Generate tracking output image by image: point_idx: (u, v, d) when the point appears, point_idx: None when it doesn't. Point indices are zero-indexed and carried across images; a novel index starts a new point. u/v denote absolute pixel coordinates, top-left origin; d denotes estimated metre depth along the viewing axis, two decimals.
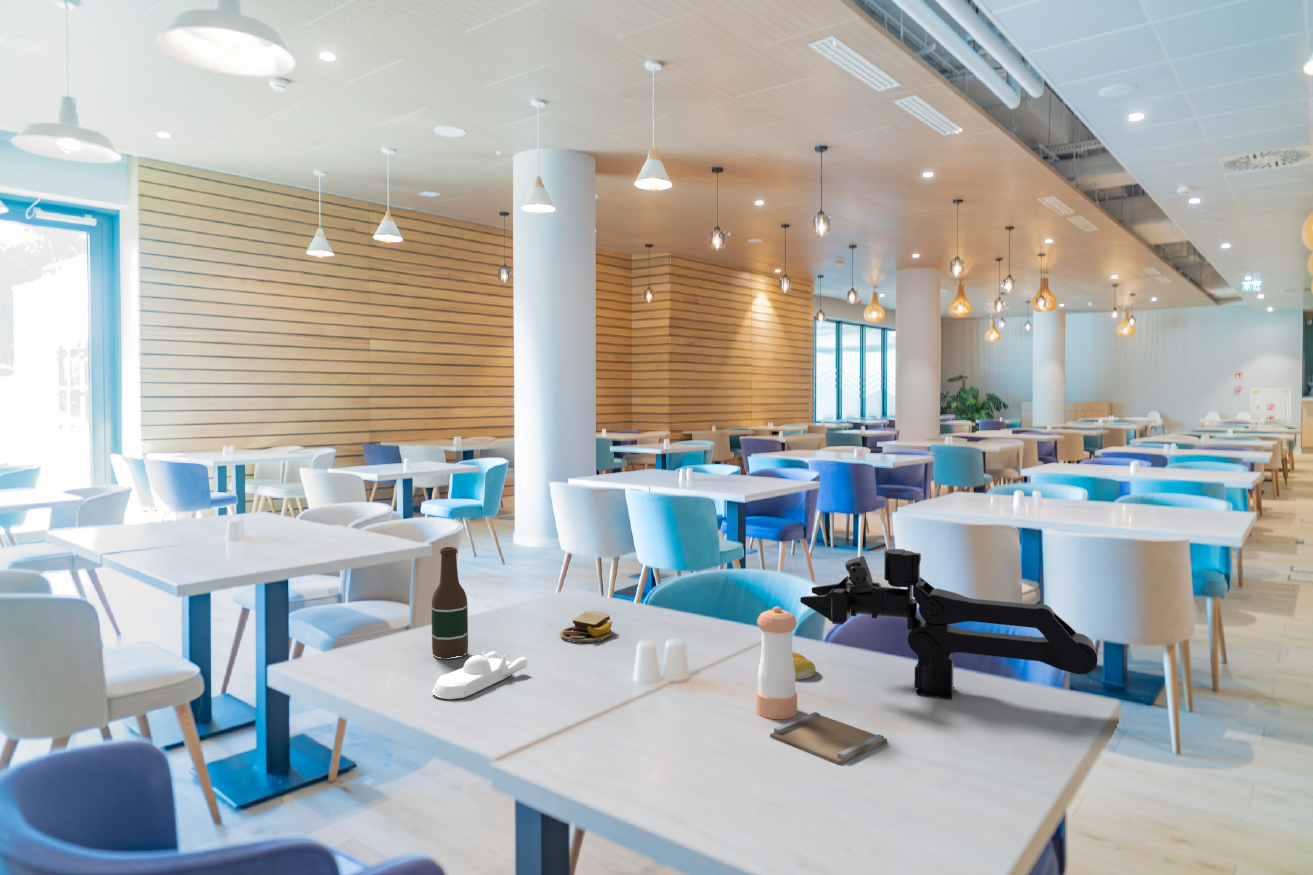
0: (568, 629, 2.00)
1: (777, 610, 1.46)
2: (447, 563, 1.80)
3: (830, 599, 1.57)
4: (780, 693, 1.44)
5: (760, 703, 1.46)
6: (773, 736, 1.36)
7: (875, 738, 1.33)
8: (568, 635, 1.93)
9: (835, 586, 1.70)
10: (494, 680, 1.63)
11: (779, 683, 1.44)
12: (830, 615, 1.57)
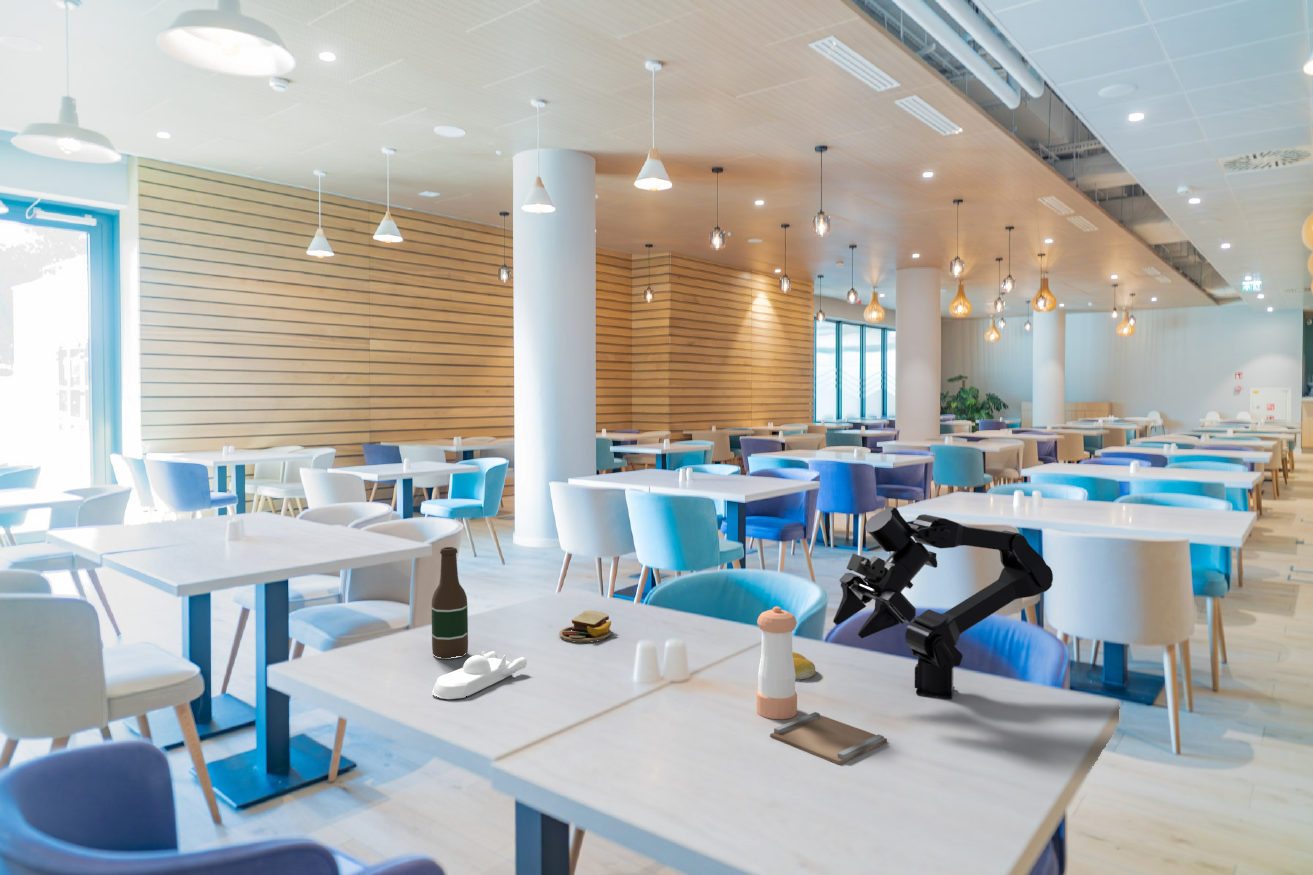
0: (567, 629, 2.00)
1: (777, 610, 1.46)
2: (447, 563, 1.80)
3: (889, 608, 1.45)
4: (780, 693, 1.44)
5: (760, 703, 1.46)
6: (773, 736, 1.36)
7: (875, 738, 1.33)
8: (567, 635, 1.93)
9: (847, 600, 1.57)
10: (494, 680, 1.63)
11: (779, 683, 1.44)
12: (900, 620, 1.45)
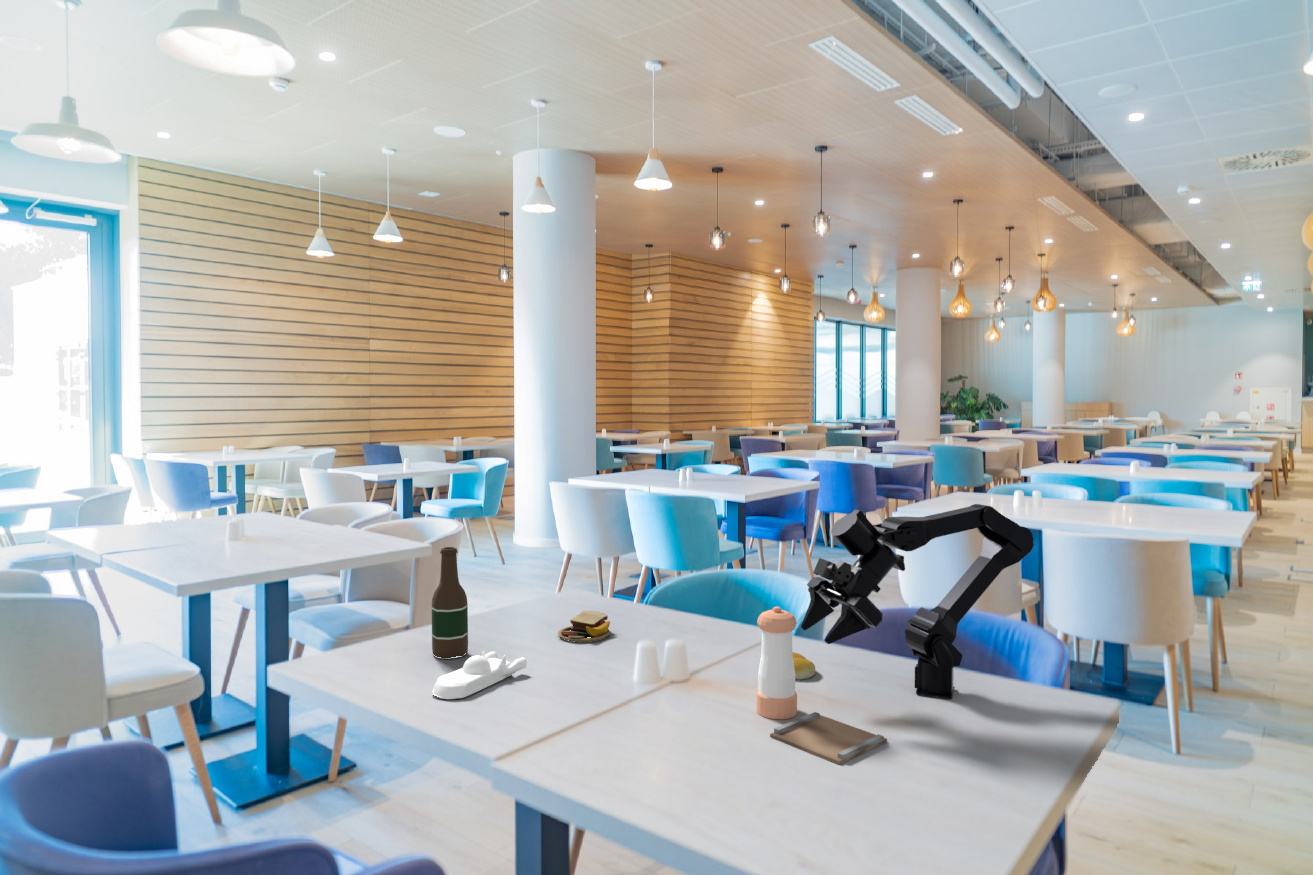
0: (566, 629, 2.00)
1: (777, 610, 1.46)
2: (447, 563, 1.80)
3: (855, 613, 1.43)
4: (780, 693, 1.44)
5: (760, 703, 1.46)
6: (773, 736, 1.36)
7: (875, 738, 1.33)
8: (566, 635, 1.93)
9: (814, 605, 1.55)
10: (494, 680, 1.63)
11: (779, 683, 1.44)
12: (866, 625, 1.43)
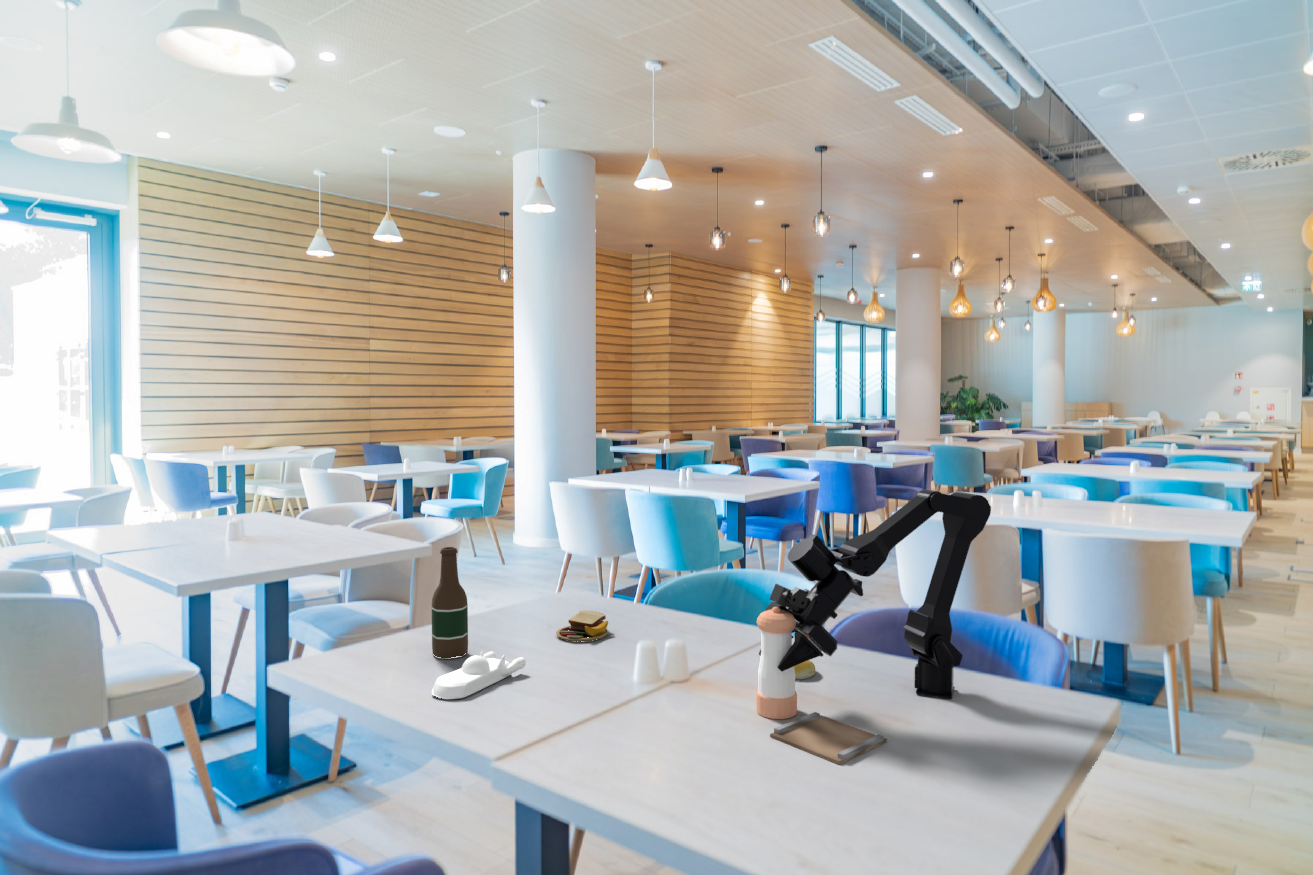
0: (564, 629, 2.00)
1: (776, 610, 1.46)
2: (447, 563, 1.80)
3: (808, 640, 1.41)
4: (780, 693, 1.44)
5: (759, 702, 1.46)
6: (773, 736, 1.36)
7: (875, 738, 1.33)
8: (565, 635, 1.93)
9: None
10: (493, 680, 1.63)
11: (779, 683, 1.44)
12: (820, 652, 1.41)
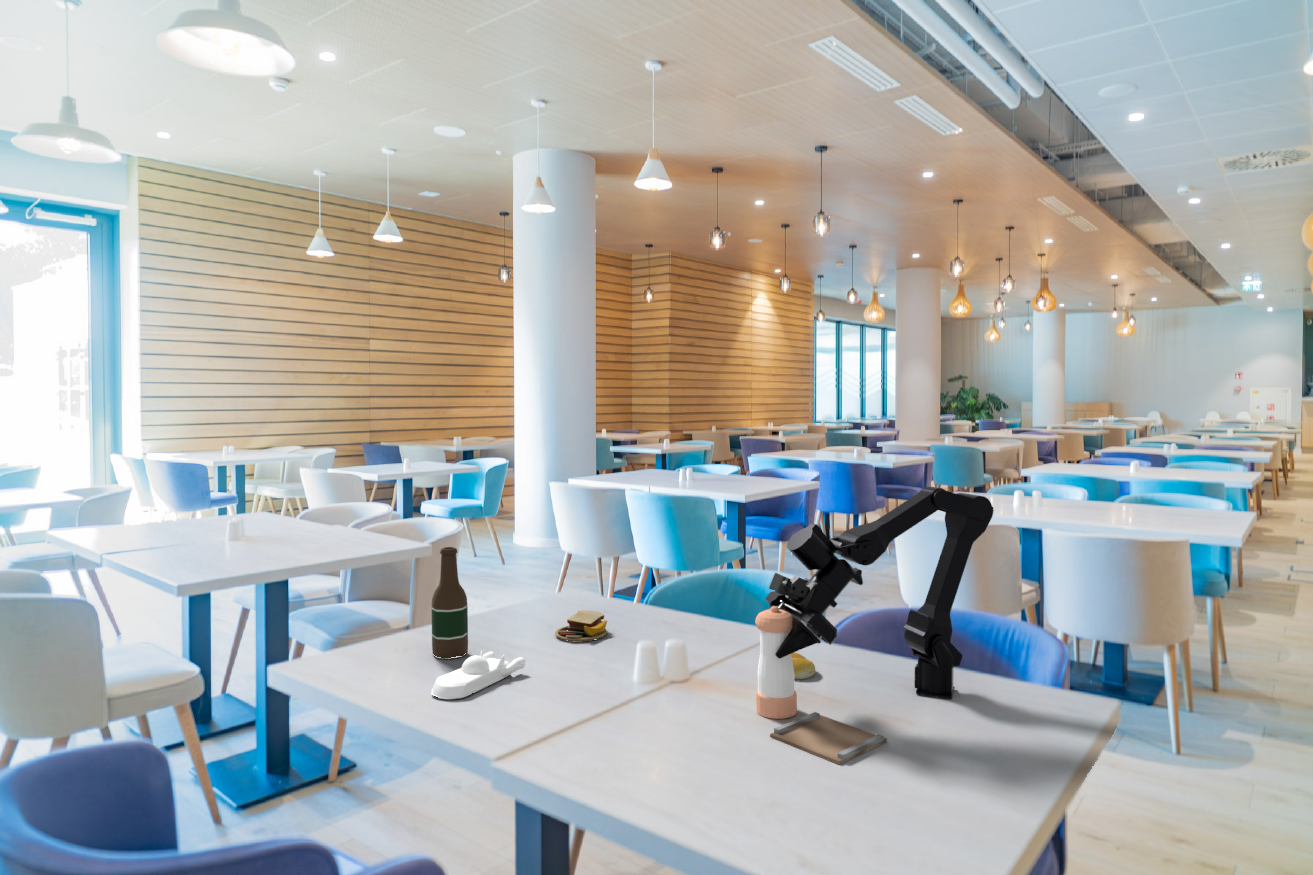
0: (562, 629, 2.00)
1: (775, 610, 1.46)
2: (447, 563, 1.80)
3: (805, 627, 1.42)
4: (779, 693, 1.44)
5: (759, 702, 1.46)
6: (773, 736, 1.36)
7: (875, 738, 1.33)
8: (564, 635, 1.93)
9: None
10: (493, 680, 1.63)
11: (778, 683, 1.44)
12: (817, 639, 1.42)
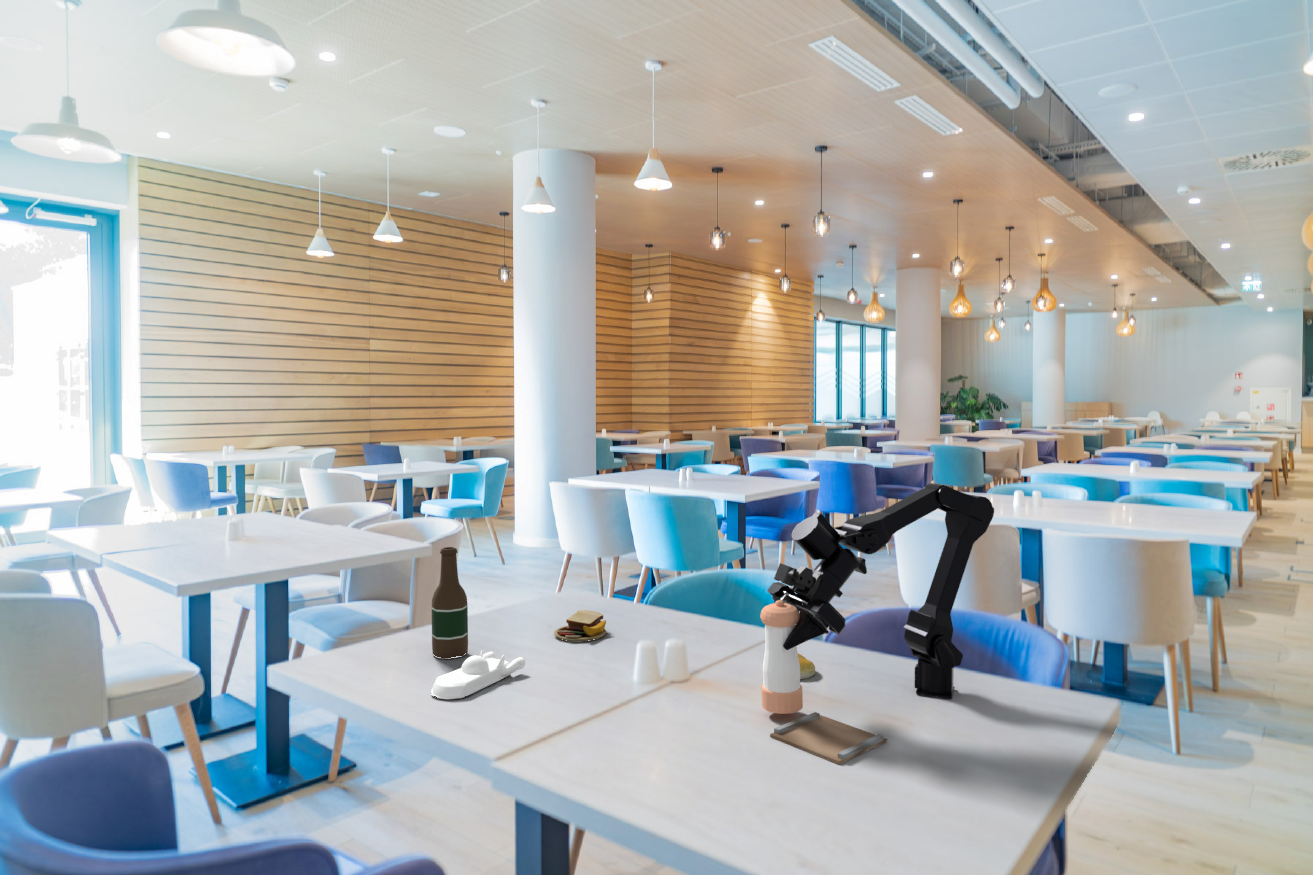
0: (561, 629, 2.00)
1: (780, 604, 1.44)
2: (447, 563, 1.80)
3: (813, 617, 1.40)
4: (786, 687, 1.43)
5: (766, 698, 1.44)
6: (773, 736, 1.36)
7: (875, 738, 1.33)
8: (563, 635, 1.93)
9: None
10: (492, 680, 1.63)
11: (785, 677, 1.42)
12: (825, 629, 1.41)
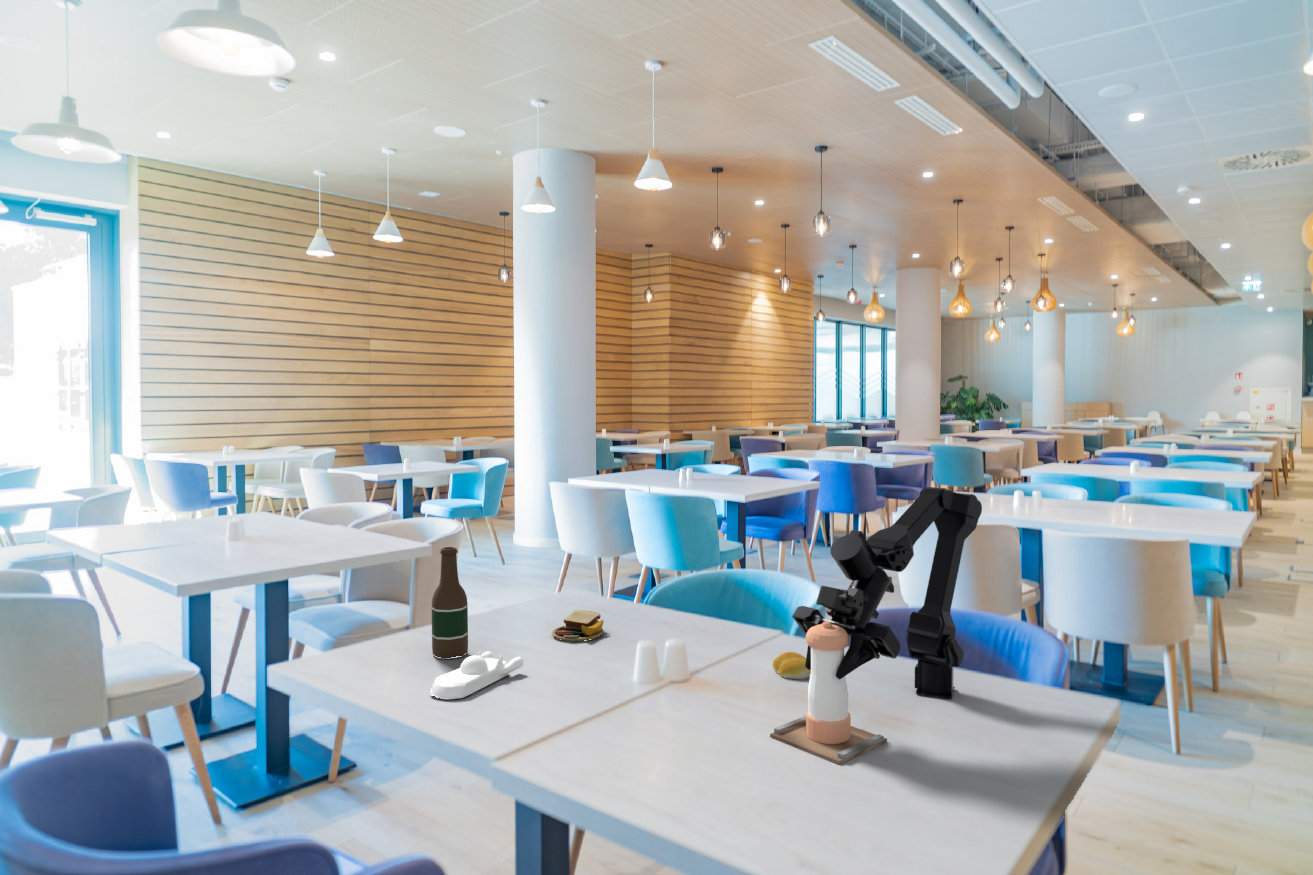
0: (559, 629, 2.00)
1: (829, 625, 1.34)
2: (447, 563, 1.80)
3: (869, 642, 1.31)
4: (841, 714, 1.33)
5: (818, 729, 1.33)
6: (773, 736, 1.36)
7: (875, 738, 1.33)
8: (561, 635, 1.93)
9: None
10: (491, 680, 1.63)
11: (840, 704, 1.32)
12: (878, 654, 1.33)
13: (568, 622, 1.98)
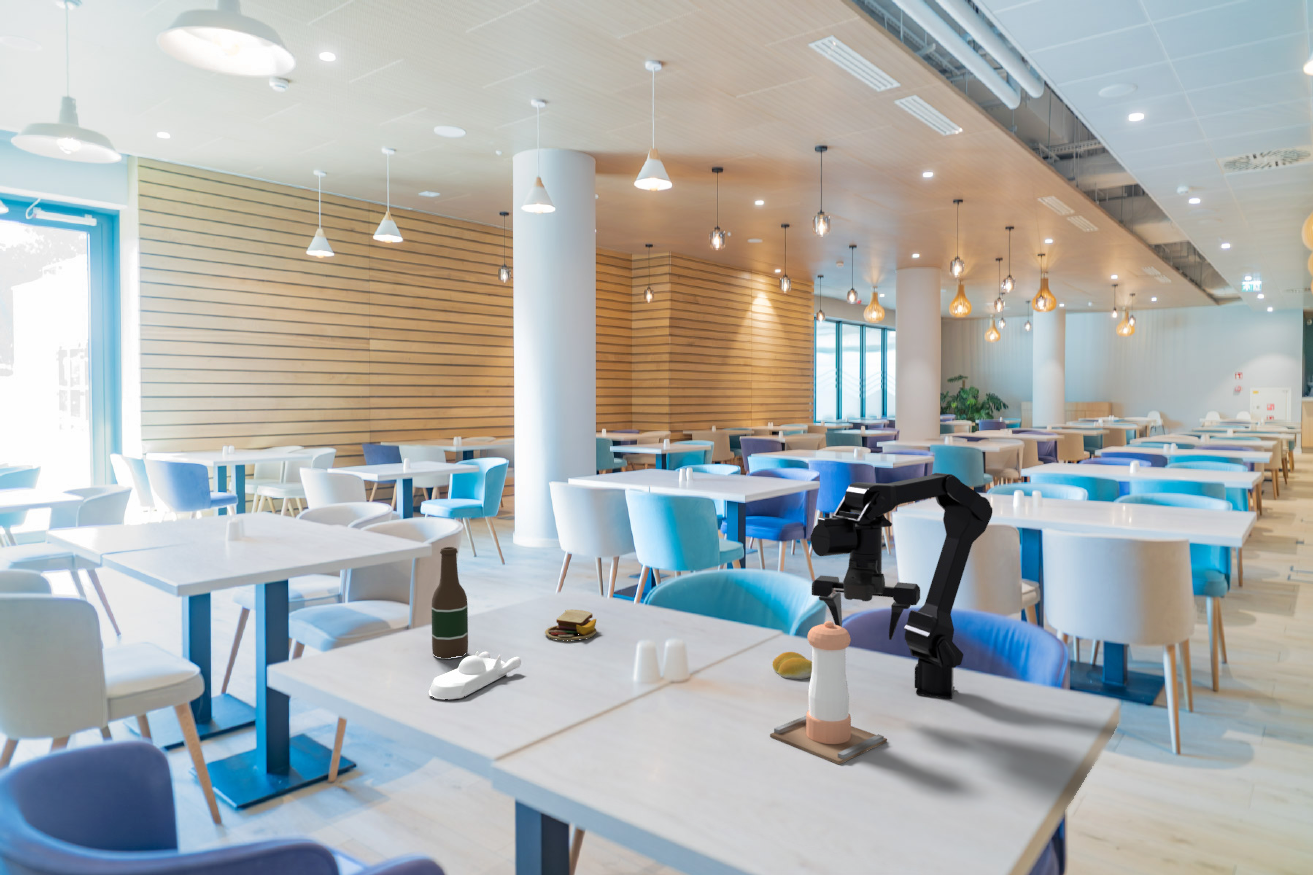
0: (551, 629, 2.00)
1: (831, 625, 1.34)
2: (447, 563, 1.80)
3: (909, 605, 1.45)
4: (841, 715, 1.33)
5: (818, 729, 1.33)
6: (773, 736, 1.36)
7: (875, 738, 1.33)
8: (556, 634, 1.93)
9: (837, 608, 1.51)
10: (489, 680, 1.63)
11: (840, 704, 1.33)
12: None
13: (561, 622, 1.98)
